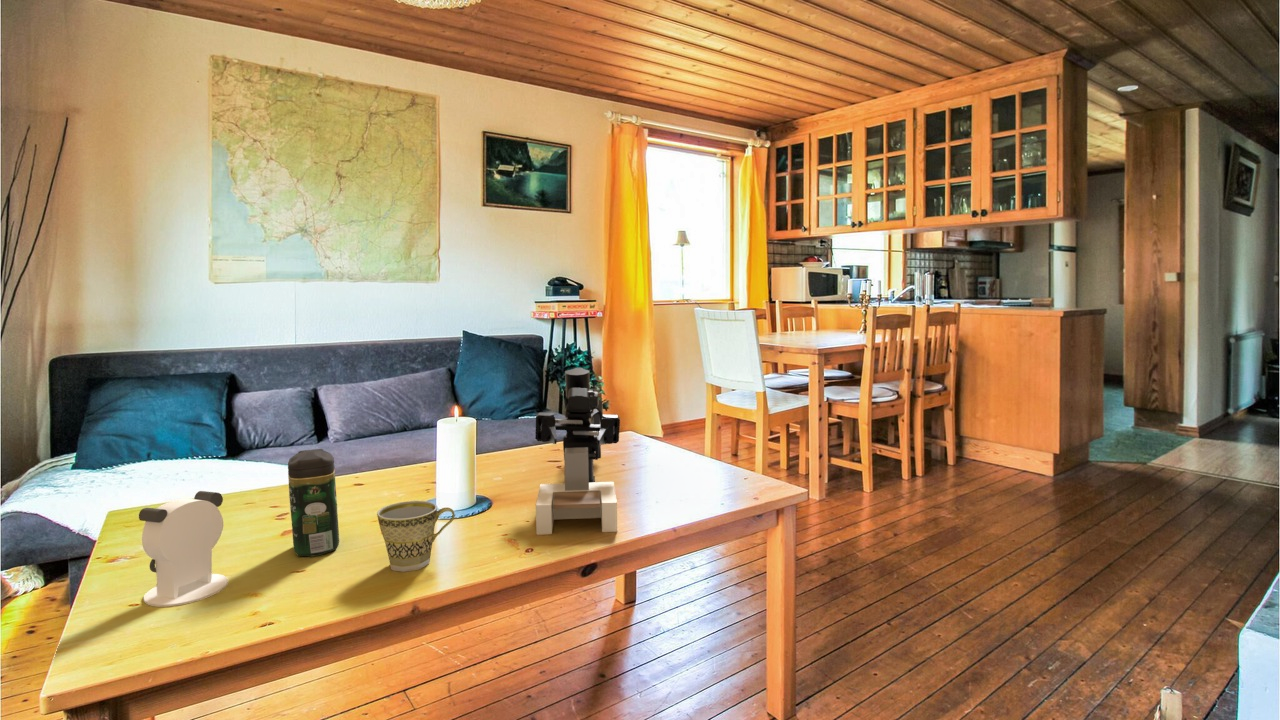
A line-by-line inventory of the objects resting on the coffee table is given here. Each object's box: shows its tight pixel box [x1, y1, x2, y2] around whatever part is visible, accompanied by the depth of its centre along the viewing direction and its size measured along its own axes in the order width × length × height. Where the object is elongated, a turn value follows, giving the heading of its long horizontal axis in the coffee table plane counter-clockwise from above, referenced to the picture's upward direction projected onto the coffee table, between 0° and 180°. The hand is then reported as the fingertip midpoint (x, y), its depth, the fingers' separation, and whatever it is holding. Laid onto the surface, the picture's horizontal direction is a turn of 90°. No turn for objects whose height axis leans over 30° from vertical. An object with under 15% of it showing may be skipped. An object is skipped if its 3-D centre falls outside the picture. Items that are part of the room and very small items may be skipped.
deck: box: [535, 481, 618, 536], centre depth 139 cm, size 14×16×6 cm
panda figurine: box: [138, 490, 229, 608], centre depth 108 cm, size 12×11×15 cm
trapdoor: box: [553, 491, 600, 509], centre depth 136 cm, size 9×9×1 cm
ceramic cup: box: [376, 500, 455, 573], centre depth 118 cm, size 13×10×10 cm
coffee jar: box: [287, 448, 340, 557], centre depth 125 cm, size 10×8×19 cm
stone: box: [563, 447, 589, 491], centre depth 143 cm, size 5×5×8 cm
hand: (577, 442), depth 142 cm, fingers open, 9 cm apart
